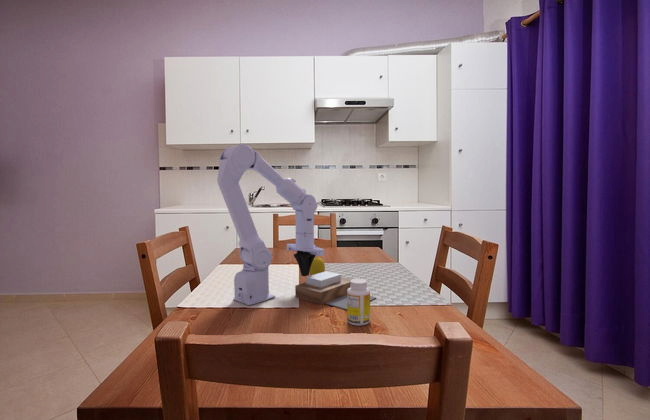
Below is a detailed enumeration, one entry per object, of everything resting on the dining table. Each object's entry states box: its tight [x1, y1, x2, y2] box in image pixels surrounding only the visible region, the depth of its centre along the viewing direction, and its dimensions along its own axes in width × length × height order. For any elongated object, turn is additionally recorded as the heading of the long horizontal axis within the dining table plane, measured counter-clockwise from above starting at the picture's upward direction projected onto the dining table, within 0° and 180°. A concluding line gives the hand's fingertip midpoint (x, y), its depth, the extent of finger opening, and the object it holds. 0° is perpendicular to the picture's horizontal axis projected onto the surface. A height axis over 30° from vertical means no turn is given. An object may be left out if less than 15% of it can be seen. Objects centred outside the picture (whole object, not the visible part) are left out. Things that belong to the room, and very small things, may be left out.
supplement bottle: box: [346, 278, 371, 327], centre depth 90 cm, size 6×6×10 cm
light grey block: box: [305, 270, 342, 287], centre depth 112 cm, size 9×6×2 cm, turn 139°
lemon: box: [309, 256, 326, 276], centre depth 128 cm, size 6×6×8 cm
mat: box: [325, 295, 377, 311], centre depth 106 cm, size 13×8×1 cm, turn 139°
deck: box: [294, 276, 354, 306], centre depth 112 cm, size 16×10×4 cm, turn 139°
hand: (305, 275), depth 118 cm, fingers closed
